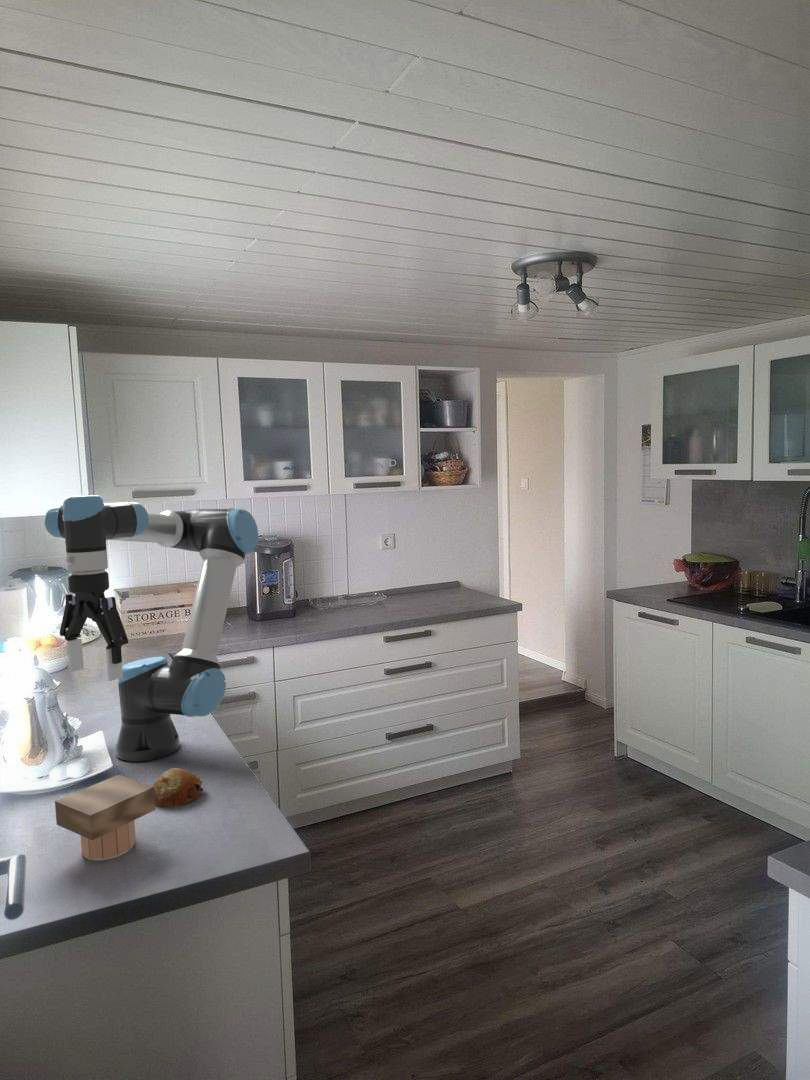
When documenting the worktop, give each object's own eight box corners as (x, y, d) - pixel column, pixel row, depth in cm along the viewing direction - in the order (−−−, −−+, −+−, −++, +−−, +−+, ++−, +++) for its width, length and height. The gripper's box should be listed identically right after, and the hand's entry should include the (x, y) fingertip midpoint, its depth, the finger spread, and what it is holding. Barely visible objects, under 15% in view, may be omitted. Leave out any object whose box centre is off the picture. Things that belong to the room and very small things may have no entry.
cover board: (119, 796, 141) (118, 774, 140) (155, 809, 135) (153, 786, 134) (56, 824, 130) (54, 800, 130) (92, 840, 124) (90, 815, 124)
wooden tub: (116, 830, 139) (114, 801, 139) (145, 843, 134) (143, 812, 134) (71, 852, 132) (69, 821, 131) (101, 866, 127) (98, 834, 126)
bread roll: (172, 802, 159) (155, 771, 159) (212, 783, 158) (195, 751, 158) (155, 824, 149) (137, 791, 149) (198, 803, 149) (179, 770, 148)
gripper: (36, 571, 148) (44, 671, 150) (107, 578, 134) (115, 688, 136) (70, 566, 154) (78, 662, 156) (142, 572, 140) (149, 678, 142)
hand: (95, 674), depth 146 cm, fingers open, 13 cm apart
